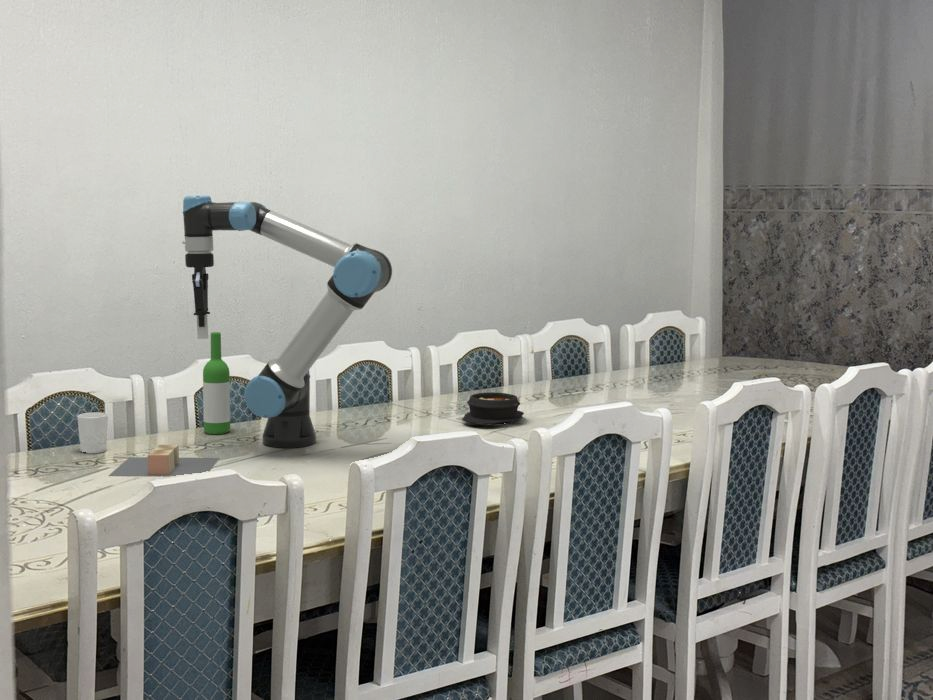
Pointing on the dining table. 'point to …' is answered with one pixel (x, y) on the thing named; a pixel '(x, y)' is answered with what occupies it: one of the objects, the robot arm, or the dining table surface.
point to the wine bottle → (216, 390)
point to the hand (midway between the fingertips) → (202, 338)
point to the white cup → (93, 432)
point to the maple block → (163, 459)
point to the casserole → (493, 408)
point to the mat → (185, 466)
